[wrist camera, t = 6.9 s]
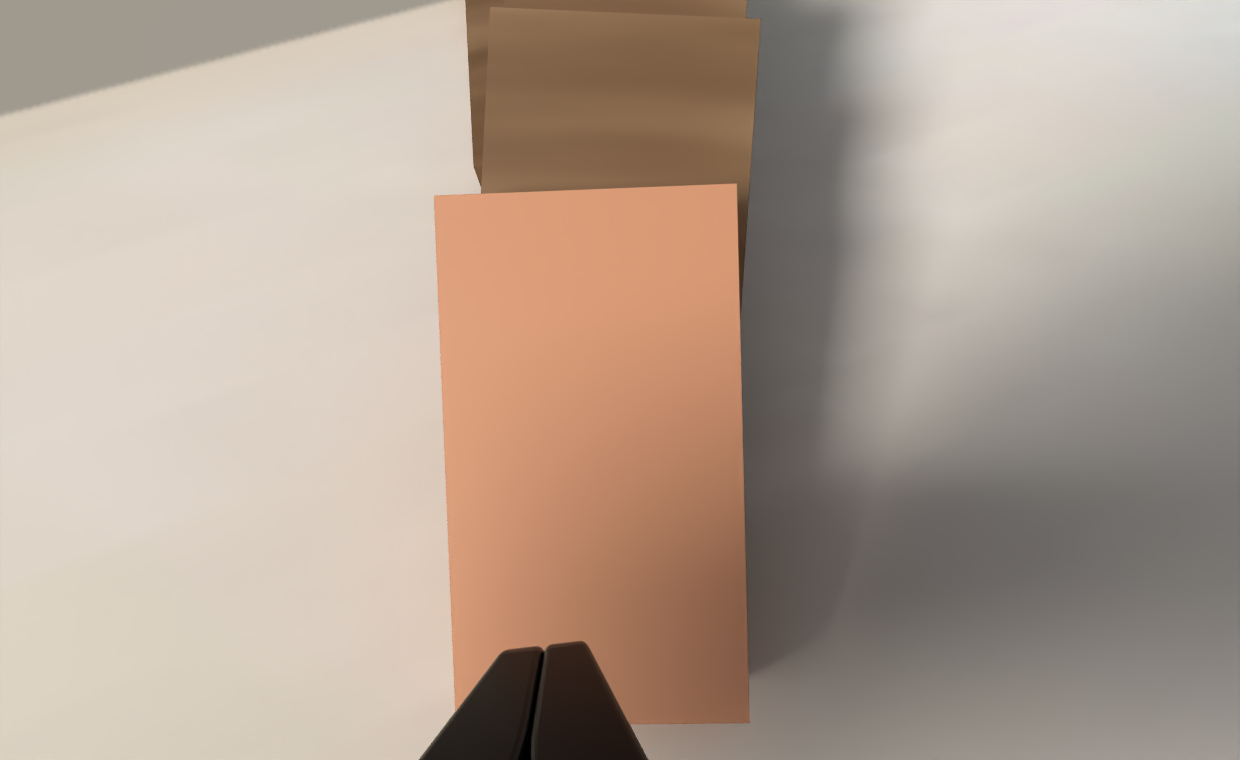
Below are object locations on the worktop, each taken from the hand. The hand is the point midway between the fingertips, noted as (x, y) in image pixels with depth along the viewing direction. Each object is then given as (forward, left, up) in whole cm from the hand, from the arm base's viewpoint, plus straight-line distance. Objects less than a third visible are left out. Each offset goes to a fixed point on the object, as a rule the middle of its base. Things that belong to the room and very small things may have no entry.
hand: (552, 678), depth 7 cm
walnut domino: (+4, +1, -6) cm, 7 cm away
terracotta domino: (0, 0, -6) cm, 6 cm away
